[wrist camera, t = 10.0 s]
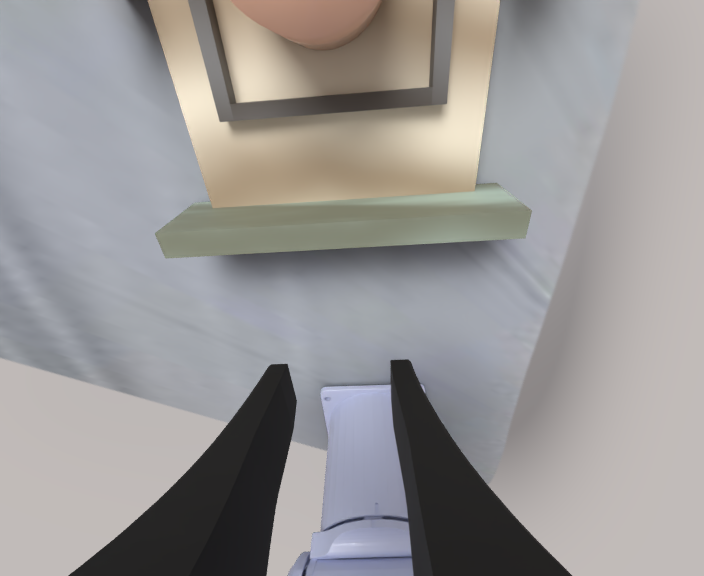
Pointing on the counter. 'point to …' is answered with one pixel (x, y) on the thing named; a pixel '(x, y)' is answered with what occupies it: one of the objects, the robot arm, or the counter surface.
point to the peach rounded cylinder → (312, 19)
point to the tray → (335, 131)
